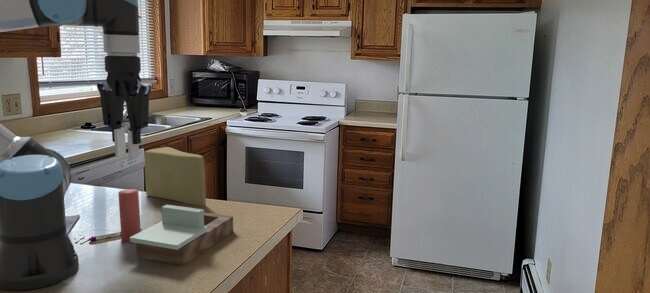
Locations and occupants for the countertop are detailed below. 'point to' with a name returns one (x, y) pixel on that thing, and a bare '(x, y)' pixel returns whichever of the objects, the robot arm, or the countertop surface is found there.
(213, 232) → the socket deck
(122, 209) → the peg
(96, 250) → the countertop surface
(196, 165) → the cheese
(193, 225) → the cover
